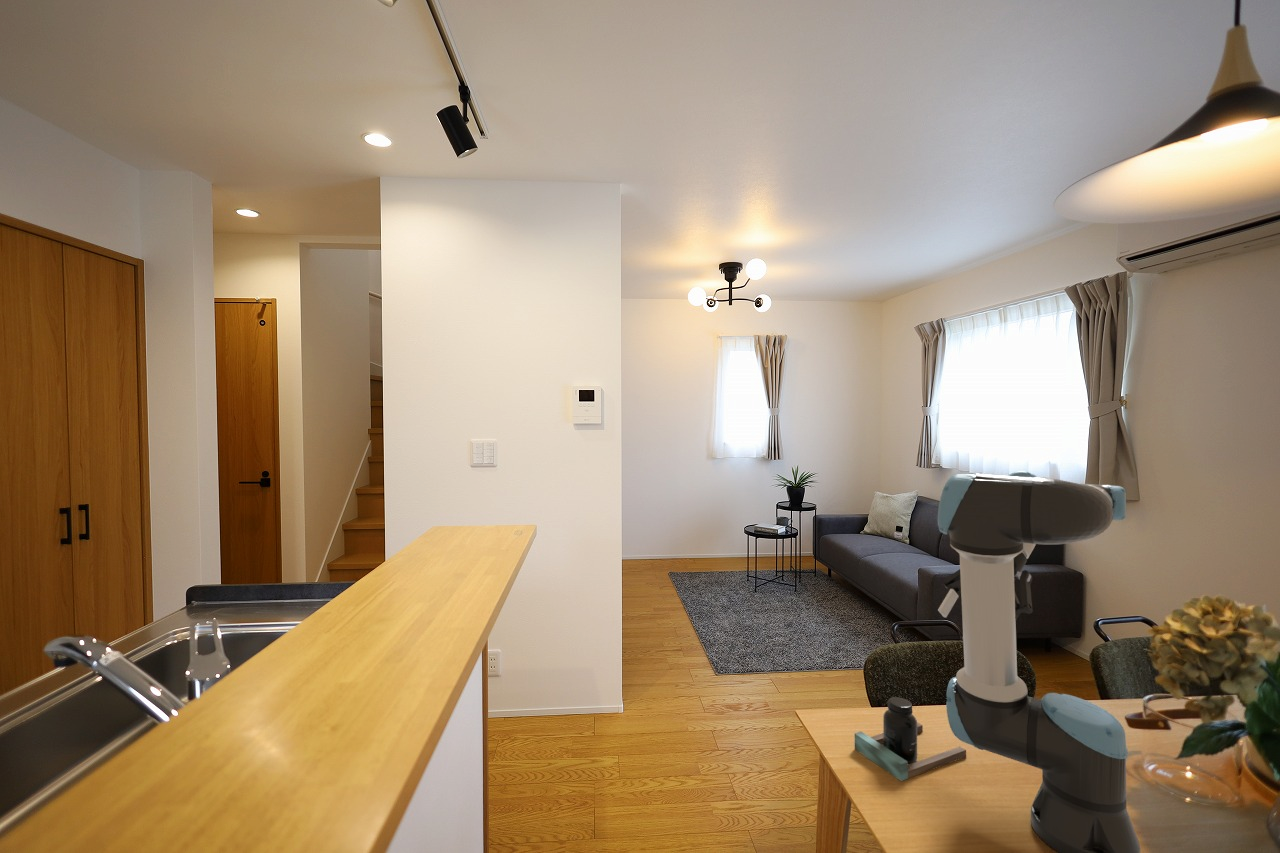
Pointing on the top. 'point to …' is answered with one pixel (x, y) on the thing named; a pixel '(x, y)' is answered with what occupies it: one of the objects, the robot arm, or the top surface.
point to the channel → (895, 763)
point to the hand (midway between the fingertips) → (968, 623)
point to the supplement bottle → (900, 729)
